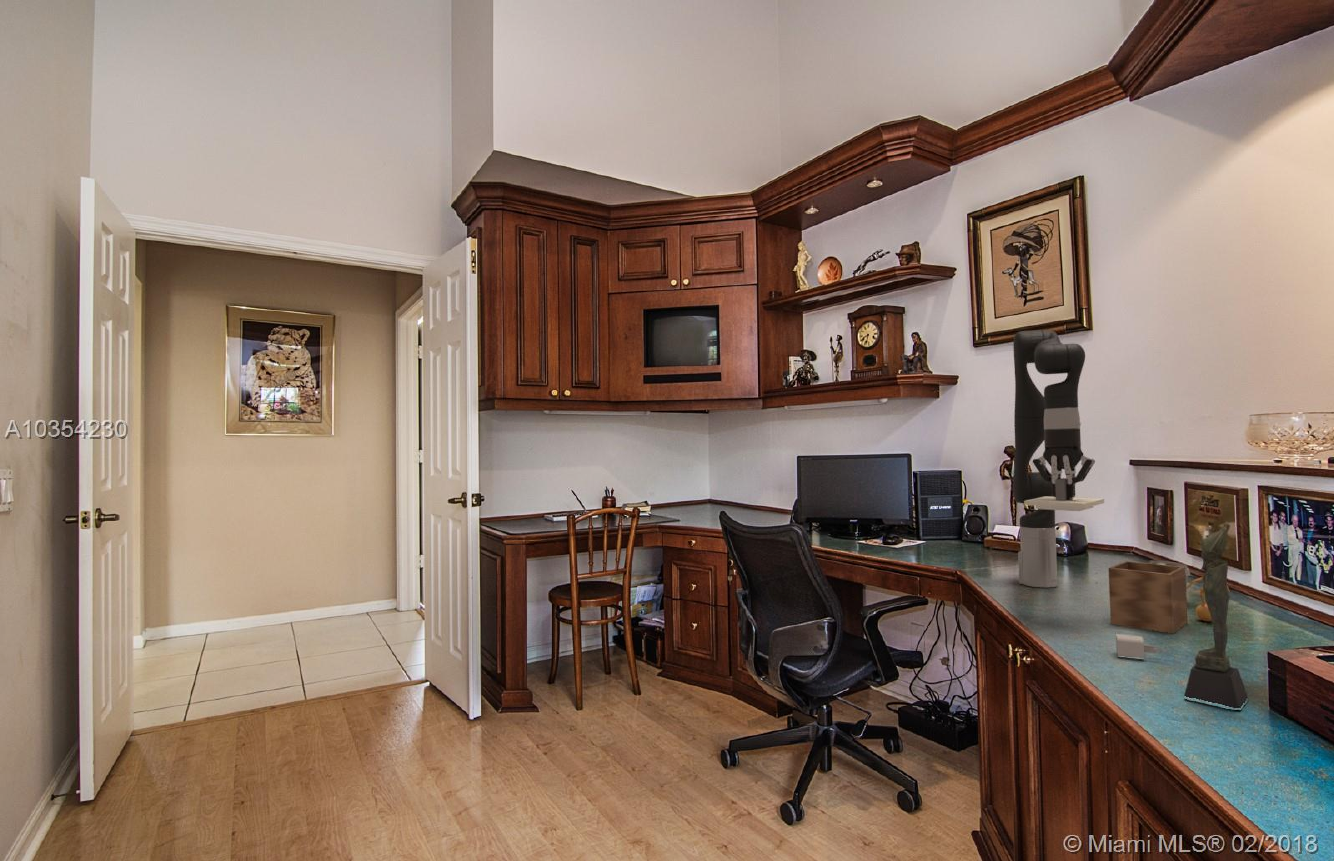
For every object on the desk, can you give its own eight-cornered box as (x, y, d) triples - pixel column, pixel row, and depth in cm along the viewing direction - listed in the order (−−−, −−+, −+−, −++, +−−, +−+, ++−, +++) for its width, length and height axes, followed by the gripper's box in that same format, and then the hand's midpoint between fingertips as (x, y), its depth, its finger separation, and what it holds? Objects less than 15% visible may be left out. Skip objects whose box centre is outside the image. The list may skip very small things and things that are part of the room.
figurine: (1225, 620, 159) (1223, 568, 159) (1235, 627, 153) (1233, 573, 153) (1182, 617, 162) (1180, 567, 162) (1190, 624, 156) (1188, 572, 157)
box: (1110, 623, 159) (1108, 567, 159) (1127, 614, 166) (1125, 560, 167) (1172, 633, 150) (1170, 574, 150) (1187, 623, 157) (1185, 567, 157)
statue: (1193, 688, 118) (1186, 516, 119) (1249, 700, 112) (1241, 519, 113) (1182, 699, 113) (1175, 520, 114) (1240, 712, 108) (1233, 523, 108)
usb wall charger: (1116, 652, 138) (1115, 633, 138) (1158, 657, 135) (1157, 637, 135) (1118, 658, 135) (1117, 638, 135) (1160, 663, 131) (1159, 642, 131)
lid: (1024, 509, 163) (1023, 479, 163) (1045, 504, 172) (1044, 476, 172) (1084, 512, 153) (1083, 481, 153) (1104, 507, 162) (1103, 477, 162)
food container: (1202, 609, 169) (1200, 569, 169) (1174, 608, 170) (1172, 568, 170) (1175, 597, 181) (1174, 560, 181) (1149, 597, 182) (1148, 560, 182)
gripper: (1025, 428, 166) (1027, 499, 165) (1088, 426, 155) (1091, 502, 155) (1037, 428, 170) (1039, 497, 170) (1099, 426, 160) (1102, 499, 160)
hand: (1064, 499), depth 163 cm, fingers closed on lid
